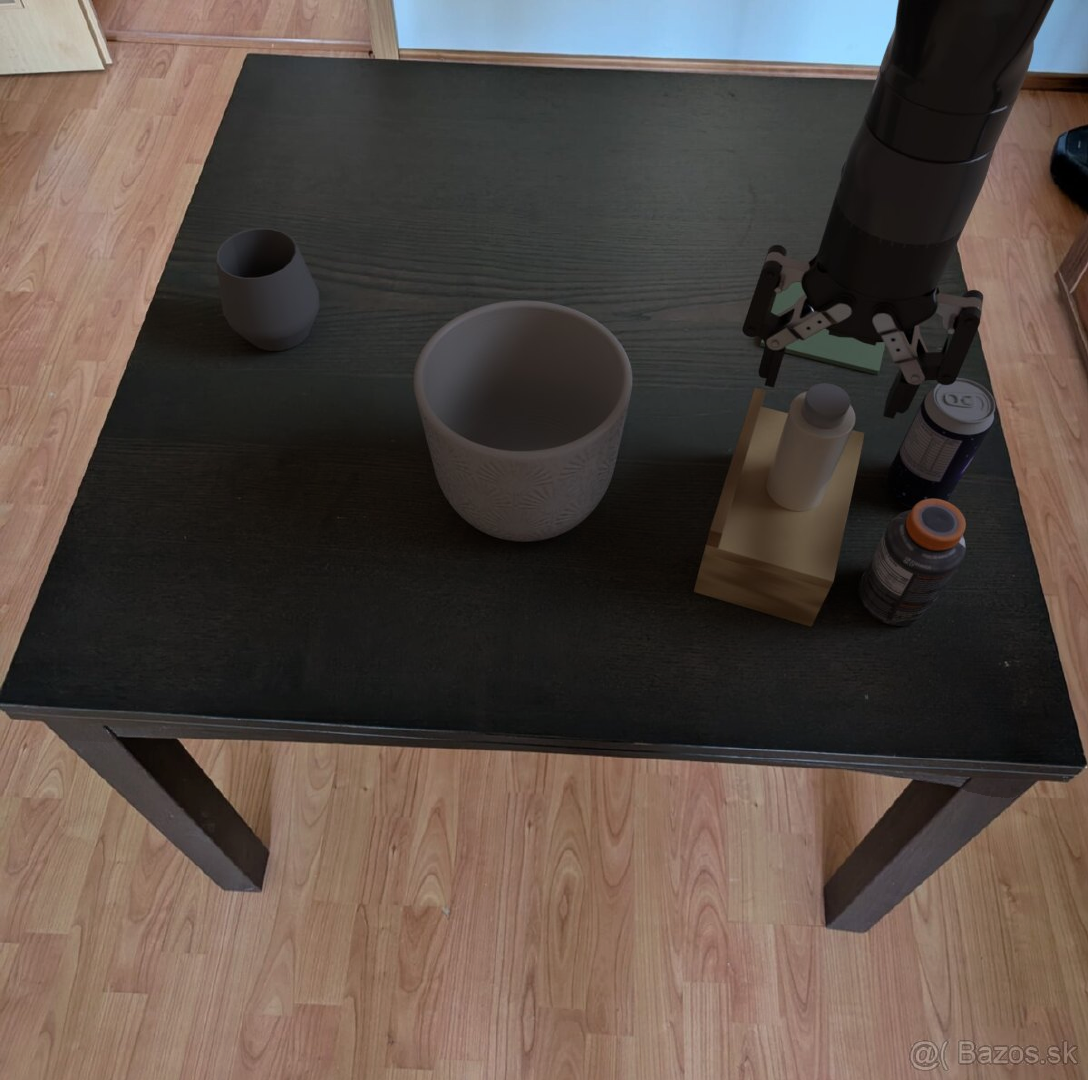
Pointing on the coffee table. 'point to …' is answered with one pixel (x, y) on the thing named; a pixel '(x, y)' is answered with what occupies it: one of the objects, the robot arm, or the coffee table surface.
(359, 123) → the coffee table surface
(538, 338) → the planter
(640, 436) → the coffee table surface
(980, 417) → the beverage can
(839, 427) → the spice bottle
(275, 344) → the cup
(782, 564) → the stepped wooden block
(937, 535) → the pill bottle
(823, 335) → the mat
